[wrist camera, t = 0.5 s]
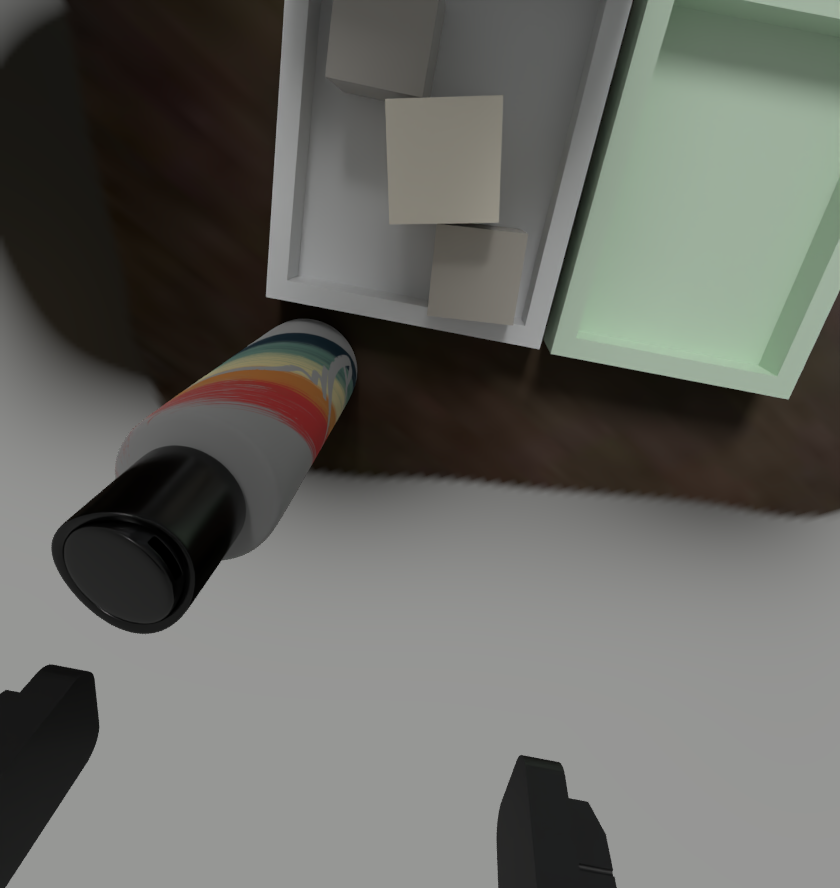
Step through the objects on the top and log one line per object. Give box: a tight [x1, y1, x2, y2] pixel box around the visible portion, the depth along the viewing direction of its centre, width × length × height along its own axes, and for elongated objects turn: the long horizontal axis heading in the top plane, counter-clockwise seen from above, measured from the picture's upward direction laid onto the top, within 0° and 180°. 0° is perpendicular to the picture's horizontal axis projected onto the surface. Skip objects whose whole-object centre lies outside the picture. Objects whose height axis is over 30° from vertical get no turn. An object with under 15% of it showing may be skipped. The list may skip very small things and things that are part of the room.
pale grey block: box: [427, 223, 528, 326], centre depth 28 cm, size 4×4×4 cm
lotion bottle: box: [52, 319, 357, 634], centre depth 24 cm, size 6×6×20 cm
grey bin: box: [266, 0, 633, 349], centre depth 27 cm, size 16×14×2 cm
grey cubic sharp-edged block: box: [325, 0, 446, 101], centre depth 24 cm, size 4×4×4 cm
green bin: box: [543, 0, 840, 400], centre depth 27 cm, size 16×12×3 cm
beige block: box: [385, 95, 503, 224], centre depth 25 cm, size 4×4×6 cm
